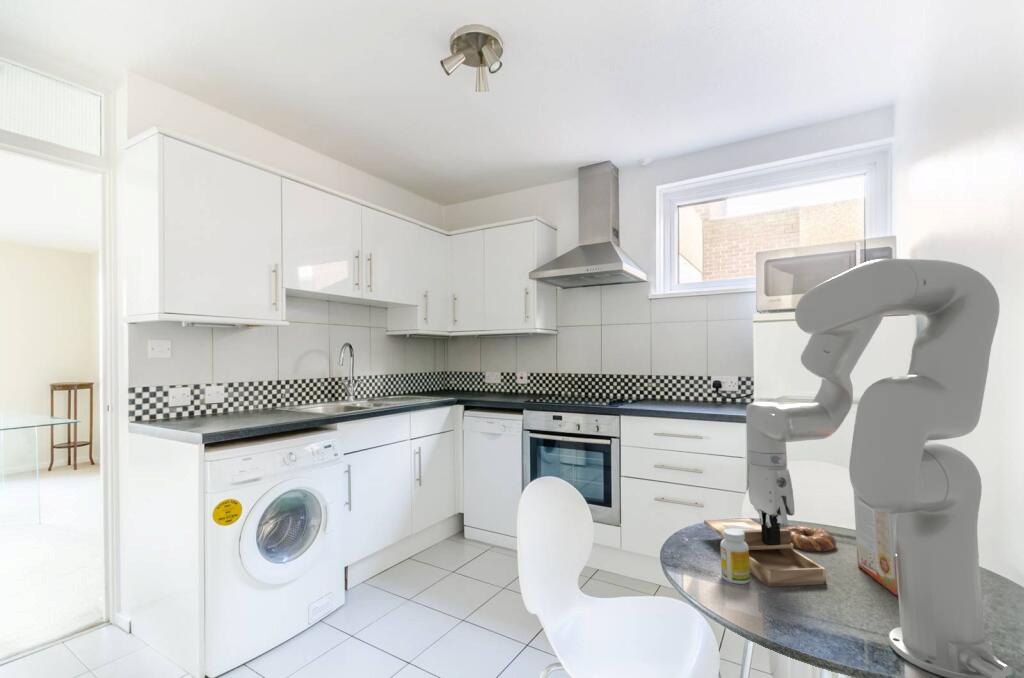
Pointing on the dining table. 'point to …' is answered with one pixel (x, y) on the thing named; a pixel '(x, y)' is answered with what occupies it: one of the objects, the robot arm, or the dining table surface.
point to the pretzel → (811, 538)
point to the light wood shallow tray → (785, 568)
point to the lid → (749, 532)
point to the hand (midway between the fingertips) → (771, 543)
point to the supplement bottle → (735, 557)
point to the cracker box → (876, 544)
